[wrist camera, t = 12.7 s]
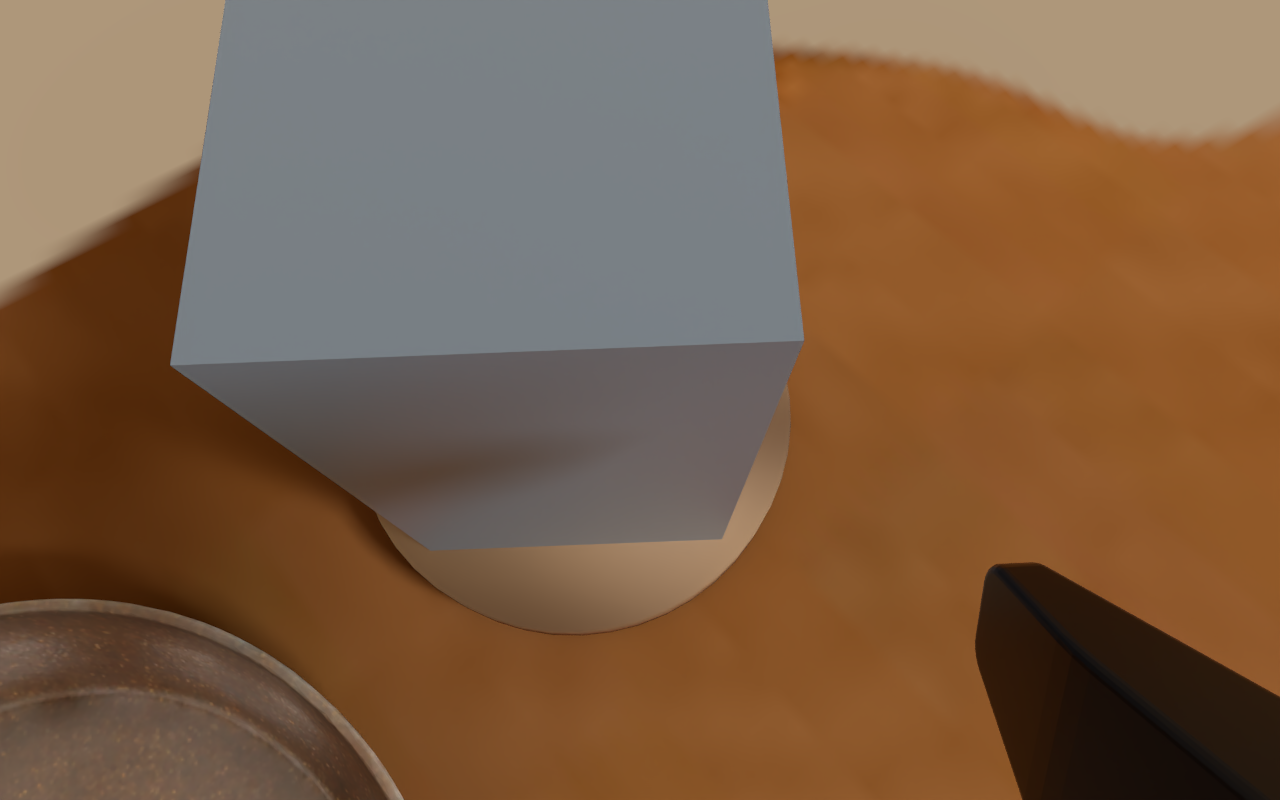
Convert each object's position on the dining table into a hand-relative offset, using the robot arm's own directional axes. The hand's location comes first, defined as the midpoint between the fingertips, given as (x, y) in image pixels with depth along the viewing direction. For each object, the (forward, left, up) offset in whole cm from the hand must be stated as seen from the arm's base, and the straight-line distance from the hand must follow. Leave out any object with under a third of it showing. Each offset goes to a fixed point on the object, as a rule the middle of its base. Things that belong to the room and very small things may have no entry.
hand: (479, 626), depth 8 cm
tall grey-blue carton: (+4, +5, -11) cm, 13 cm away
